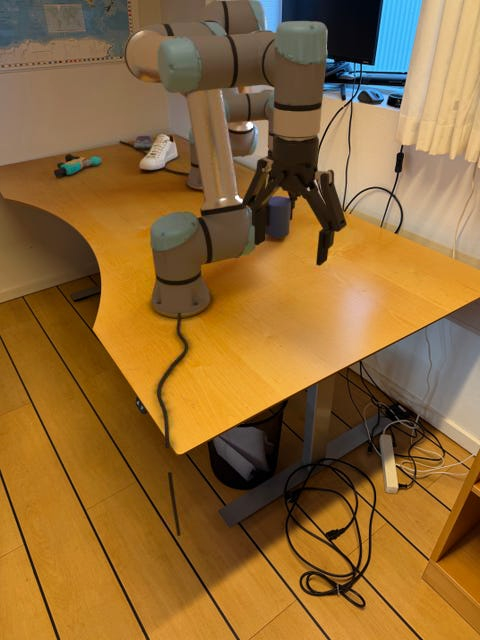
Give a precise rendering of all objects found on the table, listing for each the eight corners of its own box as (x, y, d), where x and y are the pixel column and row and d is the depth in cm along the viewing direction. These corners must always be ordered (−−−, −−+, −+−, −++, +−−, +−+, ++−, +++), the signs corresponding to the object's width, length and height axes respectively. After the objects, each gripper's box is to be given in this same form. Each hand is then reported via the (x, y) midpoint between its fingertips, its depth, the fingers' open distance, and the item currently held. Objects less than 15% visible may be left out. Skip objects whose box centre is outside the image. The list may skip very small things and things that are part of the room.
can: (292, 230, 156) (295, 198, 149) (283, 240, 150) (284, 208, 144) (271, 225, 159) (272, 194, 152) (260, 234, 153) (261, 203, 147)
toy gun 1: (34, 165, 203) (60, 171, 198) (76, 150, 222) (101, 154, 216) (36, 176, 206) (62, 181, 200) (78, 159, 225) (103, 164, 219)
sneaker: (133, 173, 208) (129, 144, 201) (161, 153, 230) (158, 127, 223) (155, 175, 205) (151, 146, 198) (180, 155, 227) (178, 129, 220)
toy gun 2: (175, 143, 244) (165, 152, 232) (140, 141, 247) (129, 150, 235) (174, 135, 242) (164, 144, 230) (139, 134, 245) (128, 142, 233)
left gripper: (378, 141, 73) (359, 263, 85) (247, 119, 85) (248, 228, 98) (356, 153, 68) (340, 280, 81) (221, 128, 80) (225, 241, 93)
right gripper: (255, 158, 132) (254, 233, 146) (317, 147, 140) (311, 219, 153) (243, 151, 137) (243, 223, 151) (303, 140, 145) (298, 210, 159)
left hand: (289, 252), depth 89 cm, fingers open, 13 cm apart
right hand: (277, 221), depth 152 cm, fingers closed on can, 8 cm apart
